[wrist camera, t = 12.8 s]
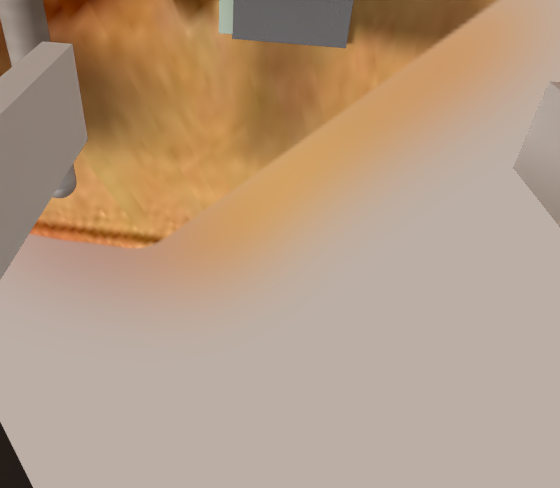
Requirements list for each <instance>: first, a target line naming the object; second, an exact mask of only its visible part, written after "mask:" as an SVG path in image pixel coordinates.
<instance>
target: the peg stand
mask: <svg viewBox="0 0 560 488" xmlns="http://www.w3.org/2000/svg"><path fill="white" fill-rule="evenodd" d="M0 19H1V23H2V28H3V32H4V36H5V40H6V44H7V49H8V53H9V57H10V61H11V65H12V67H13V66H14V65H15V64H16V63H17V62H19V61H20V60H21V59H22V58H23V57H24V56H26V55H27V54H28V53H29V52H30V51H32V50H33V49H34V48H35V47H36V46H38V45H39V44H40V43H41V42H42V41H43V42H51V41H50V36H49V31H48V25H47V20H46V15H45V9H44V4H43V0H0ZM75 187H76V175H75V170H74V164H72V166H71V167H70V169H69V170H68V172H67V174H66V175H65V177H64V178H63V180H62V182H61V183H60V185H59V186H58V188H57V190H56V191H55V193H54V194H53V196H52V197H54V198H64V197H67V196H69V195H70V194H71V193H72V192H73V191H74V189H75Z"/></svg>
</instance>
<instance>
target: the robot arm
mask: <svg viewBox="0 0 560 488" xmlns="http://www.w3.org/2000/svg"><path fill="white" fill-rule="evenodd" d="M87 140H88V137H87V131H86V125H85V119H84V112H83V106H82V100H81V94H80V88H79V82H78V76H77V70H76V63H75V57H74V51H73V45H72V44H68V43H56V42H43V41H42V42H41V43H40V44H39V45H38V46H36V47H35V48H34V49H33V50H32V51H30V52H29V53H28V54H27V55H26V56H24V57H23V58H22V59H21V60H20V61H19V62H17V63H16V64H15V65H14V66H13V67H11V68H10V69H9V70H8V71H7V72H5V73H4V74H3V75H2V76H1V77H0V279H1V278H2V276H3V275H4V273H5V271H6V270H7V268H8V266H9V265H10V263H11V262H12V260H13V258H14V257H15V255H16V254H17V252H18V251H19V249H20V247H21V246H22V244H23V243H24V241H25V239H26V238H27V236H28V234H29V233H30V231H31V230H32V228H33V226H34V225H35V223H36V222H37V220H38V218H39V217H40V215H41V214H42V212H43V210H44V209H45V207H46V206H47V204H48V202H49V201H50V199H51V198H52V196H53V194H54V193H55V191H56V190H57V188H58V186H59V185H60V183H61V182H62V180H63V178H64V177H65V175H66V174H67V172H68V170H69V169H70V167H71V166H72V164H73V162H74V161H75V159H76V158H77V156H78V154H79V153H80V151H81V150H82V148H83V146H84V145H85V143H86V142H87ZM513 168H514V169H515V171H516V172H517V173H518V174H519V176H520V177H521V178H522V180H523V181H524V182H525V183H526V185H527V186H528V187H529V188H530V190H531V191H532V192H533V193H534V195H535V196H536V197H537V199H538V200H539V201H540V202H541V204H542V205H543V206H544V207H545V208H546V210H547V211H548V212H549V214H550V215H551V216H552V218H553V219H554V220H555V221H556V223H557V224H558V225H559V226H560V82H549V83H548V86H547V88H546V91H545V93H544V96H543V98H542V100H541V103H540V105H539V108H538V110H537V112H536V114H535V117H534V119H533V122H532V124H531V126H530V129H529V131H528V134H527V136H526V138H525V141H524V143H523V146H522V148H521V150H520V153H519V155H518V157H517V160H516V162H515V165H514V167H513ZM0 488H33V487H32V485H31V483H30V481H29V479H28V477H27V475H26V473H25V471H24V469H23V467H22V465H21V463H20V461H19V459H18V457H17V455H16V453H15V451H14V449H13V447H12V445H11V443H10V441H9V439H8V437H7V435H6V433H5V431H4V429H3V427H2V425H1V423H0Z"/></svg>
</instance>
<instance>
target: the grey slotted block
mask: <svg viewBox="0 0 560 488" xmlns="http://www.w3.org/2000/svg"><path fill="white" fill-rule="evenodd" d="M352 6H353V0H233V36H232V39H242V40H254V41H266V42H278V43H290V44H302V45H314V46H326V47H338V48H346V44H347V38H348V31H349V25H350V19H351V13H352Z"/></svg>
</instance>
